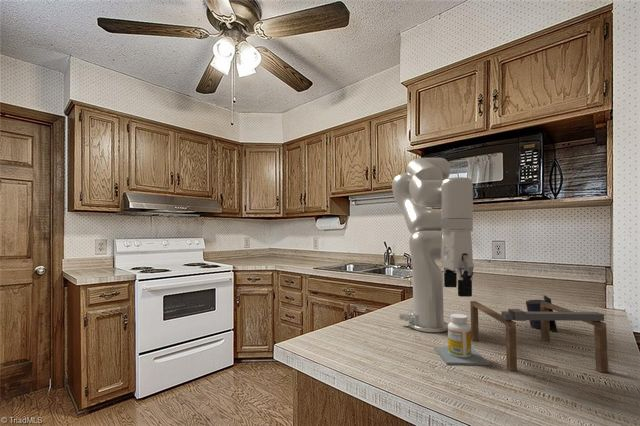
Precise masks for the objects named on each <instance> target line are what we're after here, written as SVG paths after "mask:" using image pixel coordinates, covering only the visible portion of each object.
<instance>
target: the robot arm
mask: <svg viewBox="0 0 640 426" xmlns="http://www.w3.org/2000/svg"><path fill="white" fill-rule="evenodd" d="M450 174H451V165H450V163H449V161H448V160H447V159H445V158H443V157H417V158H414V159H412V160H411V161H409V163H408V164H407V166H406V172H404V173H403V172H402V173H399V174H397V175H396V176H395V177H393V180H392V184H391V190H392V194H393V198H394V200H395V202H396V205H398V206H399V208H400V209H401V211H402V214H403V217H404V221H405V223H406V226H407V229H408V231H409V233H410V234H411V235H410V237H409V240H408V241H409V242H408V244H409V251H410V257H411V266H412V267H411V268H412V307H413V308H412V310H410V312H408V313H399V314H398V320H403V321H404V322H408V326H409V327H410V328H412V329H414V330H417V331H420V332H425V333H443V332H448V324H449V323H448V322H446V321H444V320H445V318H444V316H445V315H444V314H445V313H444V310H445V309H444V288H457V295H458V297H460V298H461V297H463V298H465V297H468V298H469V297H470V298H471V297H472V296H473V280H474V279H473V275H474V268H475V264H474V262H473V261H474V258H473V256H474V253H473V241H472V240H473V239H472V232H474V210H473V209H474V202H473V201H474V193H473V191H474V190H473V187H474V185H473V181H472V180H471V178H469V177H464V176H463V177H461V176H460V177H456V176H455V177H450ZM428 207H429V208H431V207H433V208H434V207H441V209H439V210H438V209H437V210H436V209H435V210H434V209H428ZM436 260H437V261H438V260H440V264H441V266H442V267H443V271H442V269H441V267H439V265H438V263H437V262H435V261H436ZM443 273H444V274H443ZM457 275H458V277H457ZM457 278H459V279H457Z"/></svg>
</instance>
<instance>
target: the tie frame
mask: <svg viewBox="0 0 640 426" xmlns="http://www.w3.org/2000/svg"><path fill="white" fill-rule="evenodd" d="M469 302H470V303H469V304H470V328H471V341H476V342H479V341H480V339H479V338H480V336H479V335H480V334H479V330H480V329H479V311H481V312H483V313H485V314H486V315H487V316H489V317H491V318H493V319H495V320H496V321H498V322H500V323H502V324H503V325H505V344H506V345H505V347H506V349H505V350H506V351H505V352H506V369H507V370H508V371H509V372H518V359H517V357H518V353H517V351H518V350H517V321H515V320H505V319H503V318H502V314H501V313H499V312H497V311H495V310H493V309H491V308H489V307H487V306H485V305H484V304H482V303H480V302H479V301H476V300H470V301H469ZM551 303H552V302H551ZM551 303H548V302H540V312H549V309H552V310H553V311H554V312H574V311H573V310H571V309H567V308H564V307H562V306H558V305H556V304H553V303H552V304H551ZM582 322H583V323H586V324H588V325H592V326H593V330H594V331H593V334H594V355H595V359H594V360H595V361H594V362H595V370H596V371H598V372H599V373H601V374H603V373H605V374H607V373H609V365H608V364H609V362H608V361H609V360H608V358H609V357H608V356H609V355H608V339H607V338H608V337H607V335H608V334H607V332H608V331H607V323H606V322H604V321H582ZM550 329H551V328H550V324H549V320H541V329H540V337H541V338H540V339H541V341H543V342H547V343H548V342H551V330H550Z"/></svg>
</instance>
